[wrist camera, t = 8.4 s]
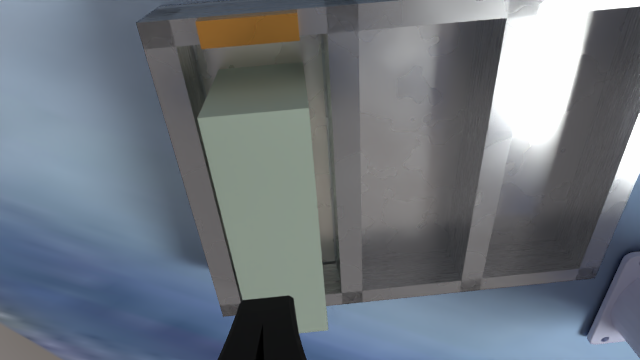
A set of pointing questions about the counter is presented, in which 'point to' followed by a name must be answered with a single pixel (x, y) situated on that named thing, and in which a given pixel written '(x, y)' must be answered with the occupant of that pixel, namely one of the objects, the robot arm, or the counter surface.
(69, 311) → the counter surface
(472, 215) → the rack
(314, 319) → the pale green rectangular box
